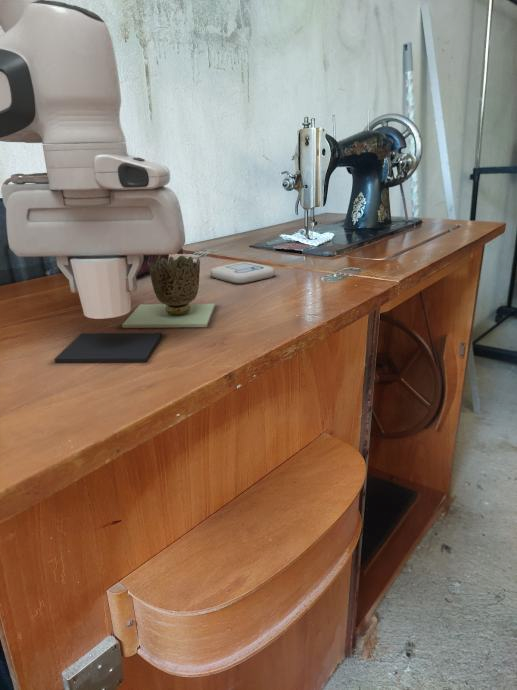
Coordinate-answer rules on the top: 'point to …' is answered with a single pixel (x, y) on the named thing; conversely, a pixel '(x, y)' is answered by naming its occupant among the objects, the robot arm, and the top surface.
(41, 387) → the top surface
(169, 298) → the cup
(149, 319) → the sage mat
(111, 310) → the white tapered cup
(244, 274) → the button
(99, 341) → the charcoal mat
